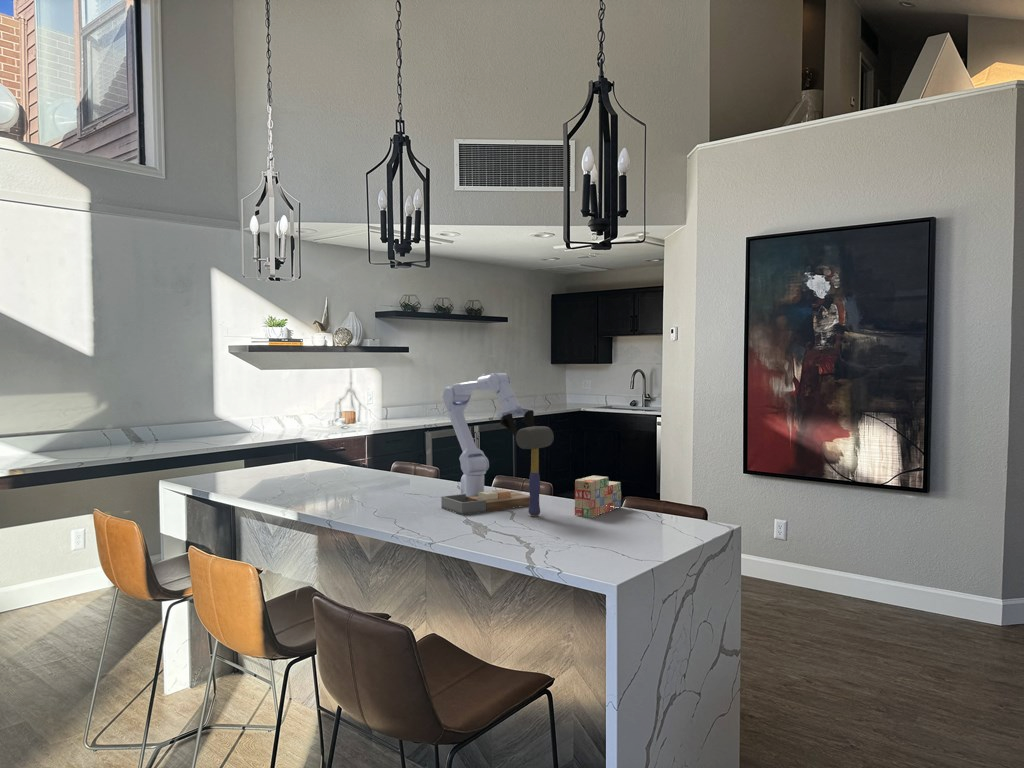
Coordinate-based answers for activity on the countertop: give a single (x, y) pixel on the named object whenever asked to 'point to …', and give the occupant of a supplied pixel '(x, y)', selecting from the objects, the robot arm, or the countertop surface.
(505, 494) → the tile back
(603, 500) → the stack of blocks
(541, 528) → the countertop surface
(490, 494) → the tile front
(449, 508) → the bin
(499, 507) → the wooden serving tray
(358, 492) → the countertop surface
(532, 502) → the rubber mallet
